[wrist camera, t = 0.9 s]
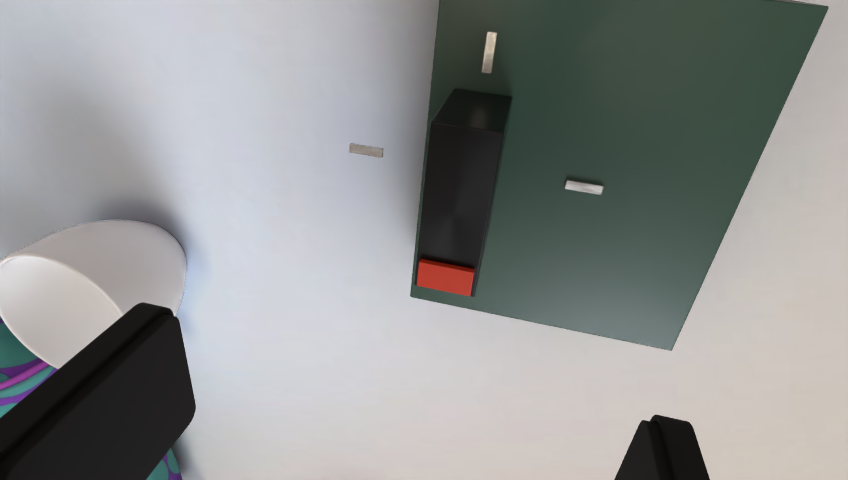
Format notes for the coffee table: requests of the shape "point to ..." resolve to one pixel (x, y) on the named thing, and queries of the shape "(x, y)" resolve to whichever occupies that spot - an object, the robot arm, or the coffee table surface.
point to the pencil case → (23, 372)
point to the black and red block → (460, 189)
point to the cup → (87, 283)
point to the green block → (615, 147)
